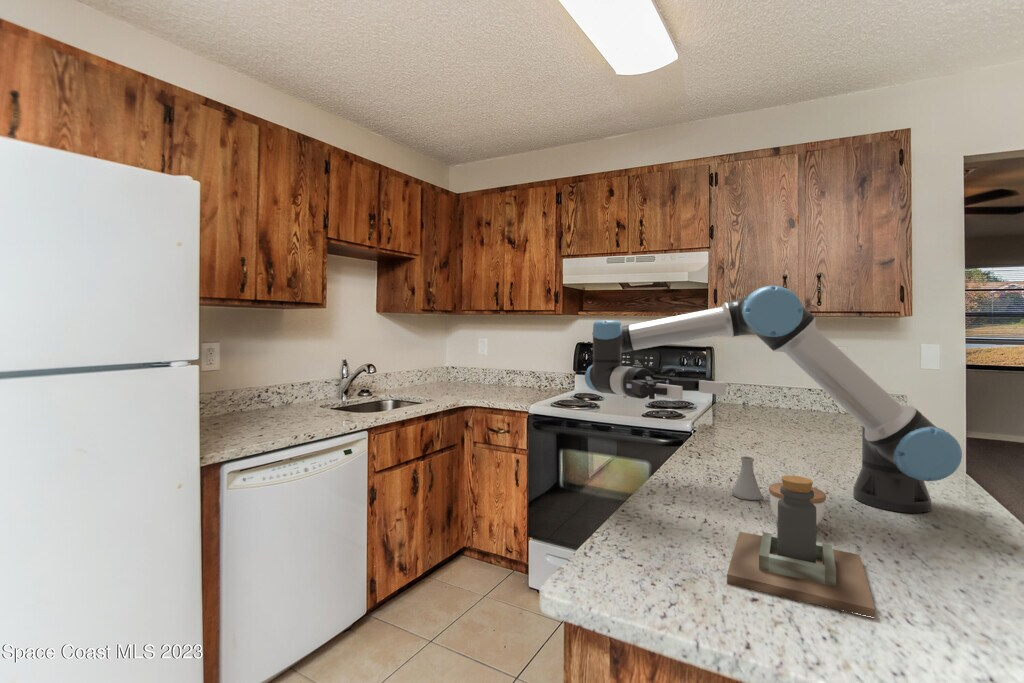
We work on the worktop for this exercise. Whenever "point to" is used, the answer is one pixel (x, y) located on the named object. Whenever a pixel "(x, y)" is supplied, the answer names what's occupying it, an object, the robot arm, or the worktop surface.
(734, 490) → the flask
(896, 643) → the worktop surface
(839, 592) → the socket board
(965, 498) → the worktop surface
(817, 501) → the lidded jar
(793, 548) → the bottle
